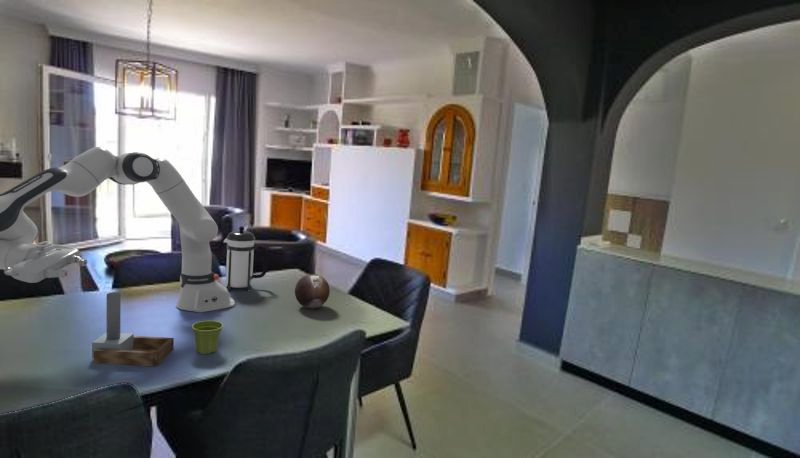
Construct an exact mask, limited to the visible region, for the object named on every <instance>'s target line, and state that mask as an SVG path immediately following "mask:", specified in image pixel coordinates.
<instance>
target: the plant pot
mask: <svg viewBox="0 0 800 458" xmlns="http://www.w3.org/2000/svg"><path fill="white" fill-rule="evenodd" d="M223 327H224V323H222V322H221V321H217V320H201V321H196V322H194V323H193V324H192V325H191V329H192V330H193V333H194V340H195V350H196V352H197V353H198V354H202V355H208V354H211V353H212V354H213V353H215V352H216V351H217V349H218V346H219V341H220V340H219V339H220V337H221V336H220V335H221V332H222V329H223Z"/></svg>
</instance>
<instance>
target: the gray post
mask: <svg viewBox="0 0 800 458" xmlns="http://www.w3.org/2000/svg"><path fill="white" fill-rule="evenodd" d="M121 297H122V295H121V292H118V291H113V292H108V293H106V332H105V333H103V334H102V335H100V336H99V337H97V339H94V340H93V341H92V343H91V352H92V353H91V358H92V359H94V350H95V349H114V350H133V341H134V336H135V335H134V333H125V332H121V309H122V308H121V306H122V305H121V304H122V303H121V299H122V298H121Z"/></svg>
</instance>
